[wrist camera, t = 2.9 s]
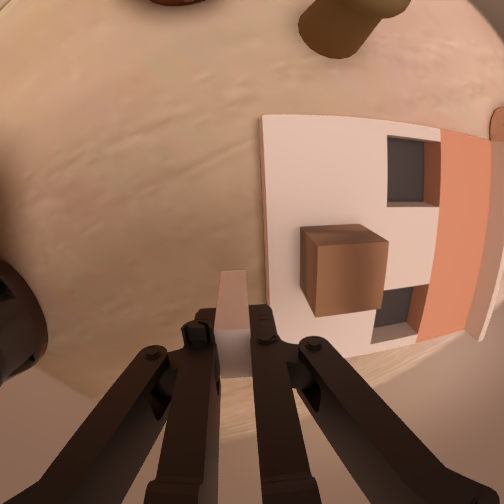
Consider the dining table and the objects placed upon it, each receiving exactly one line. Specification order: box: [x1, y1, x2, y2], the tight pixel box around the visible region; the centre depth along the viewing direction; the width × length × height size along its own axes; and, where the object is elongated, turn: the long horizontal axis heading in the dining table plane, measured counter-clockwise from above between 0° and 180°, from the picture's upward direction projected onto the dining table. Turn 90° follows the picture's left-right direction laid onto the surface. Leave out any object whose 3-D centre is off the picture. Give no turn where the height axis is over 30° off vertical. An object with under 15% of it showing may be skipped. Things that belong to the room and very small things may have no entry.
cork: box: [298, 0, 411, 59], centre depth 14 cm, size 6×6×11 cm
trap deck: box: [259, 115, 504, 358], centre depth 23 cm, size 25×22×6 cm
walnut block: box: [300, 224, 389, 318], centre depth 21 cm, size 5×5×5 cm
